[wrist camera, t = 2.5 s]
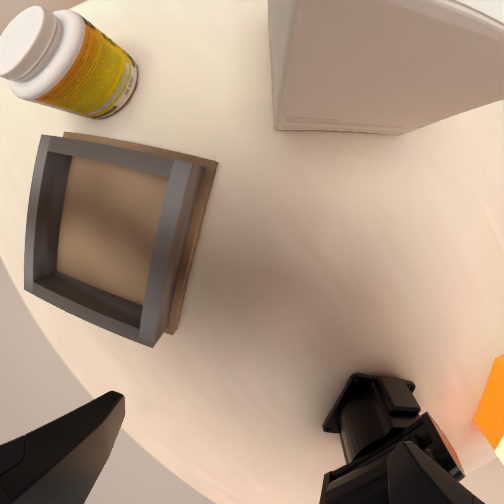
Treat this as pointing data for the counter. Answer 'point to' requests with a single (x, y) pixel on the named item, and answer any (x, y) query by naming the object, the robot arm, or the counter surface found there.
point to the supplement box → (383, 62)
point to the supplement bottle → (65, 63)
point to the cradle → (114, 231)
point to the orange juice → (493, 409)
